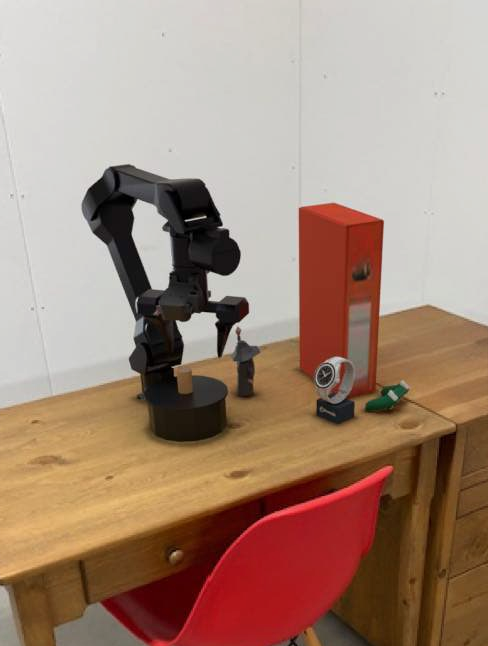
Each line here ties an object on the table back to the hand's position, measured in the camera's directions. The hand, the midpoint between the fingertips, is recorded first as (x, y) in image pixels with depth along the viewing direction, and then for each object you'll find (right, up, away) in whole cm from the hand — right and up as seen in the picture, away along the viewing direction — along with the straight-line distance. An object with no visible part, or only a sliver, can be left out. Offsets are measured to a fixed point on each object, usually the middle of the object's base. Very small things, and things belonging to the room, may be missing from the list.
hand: (195, 354), depth 139 cm
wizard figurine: (+8, -4, +17) cm, 19 cm away
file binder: (+26, 0, +21) cm, 34 cm away
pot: (-2, -12, +4) cm, 13 cm away
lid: (-2, -7, 0) cm, 7 cm away
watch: (+25, -10, +7) cm, 28 cm away
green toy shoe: (+35, -7, +11) cm, 38 cm away
